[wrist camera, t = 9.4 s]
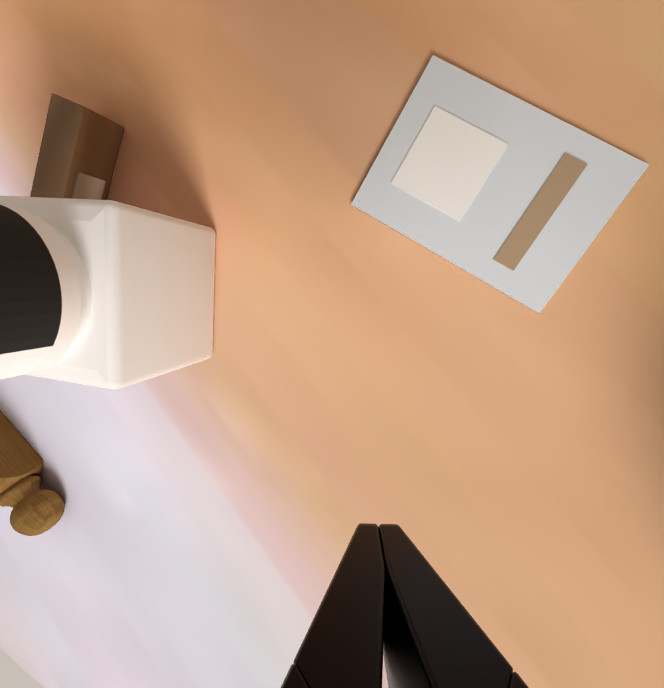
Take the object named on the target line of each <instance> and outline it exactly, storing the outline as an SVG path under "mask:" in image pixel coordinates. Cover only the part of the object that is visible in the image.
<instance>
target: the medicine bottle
mask: <svg viewBox="0 0 664 688" xmlns="http://www.w3.org/2000/svg"><path fill="white" fill-rule="evenodd" d="M215 246H216V234H215V231H214V230H213V229H212V228H211V227H208V226H204V225H200V224H197V223H193V222H189V221H186V220H182V219H179V218H175V217H171V216H168V215H164V214H161V213H157V212H153V211H150V210H146V209H142V208H139V207H135V206H132V205H128V204H124V203H121V202H117V201H113V200H94V199H68V198H42V197H17V196H0V380H1V379H5V378H10V377H14V376H19V375H23V374H25V375H31V376H37V377H43V378H49V379H55V380H61V381H66V382H72V383H78V384H84V385H90V386H96V387H102V388H108V389H120V388H123V387H126V386H129V385H132V384H135V383H138V382H141V381H144V380H147V379H150V378H153V377H156V376H159V375H162V374H165V373H168V372H171V371H174V370H177V369H180V368H182V367H185V366H188V365H191V364H194V363H197V362H200V361H203V360H206V359H209V358H210V357H211V356H212V353H213V322H214V284H215Z"/></svg>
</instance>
